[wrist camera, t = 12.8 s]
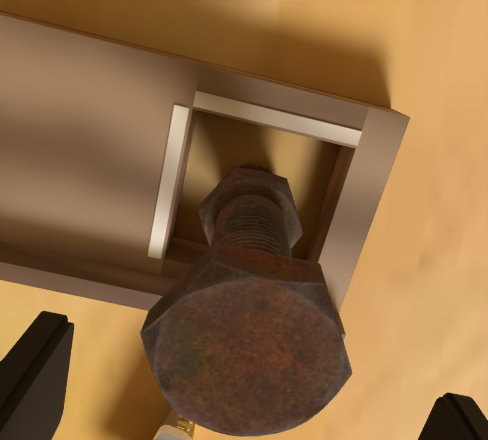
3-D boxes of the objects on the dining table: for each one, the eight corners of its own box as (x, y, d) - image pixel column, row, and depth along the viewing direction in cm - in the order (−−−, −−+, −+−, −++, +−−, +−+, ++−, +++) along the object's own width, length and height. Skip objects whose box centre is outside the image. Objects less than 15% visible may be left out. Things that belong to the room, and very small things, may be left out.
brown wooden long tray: (324, 300, 28) (339, 350, 24) (-176, 192, 26) (-268, 224, 21) (391, 108, 24) (425, 124, 19) (-200, -39, 22) (-321, -62, 17)
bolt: (194, 220, 26) (125, 417, 12) (209, 136, 25) (149, 255, 11) (290, 240, 27) (329, 454, 13) (313, 158, 25) (386, 302, 11)
